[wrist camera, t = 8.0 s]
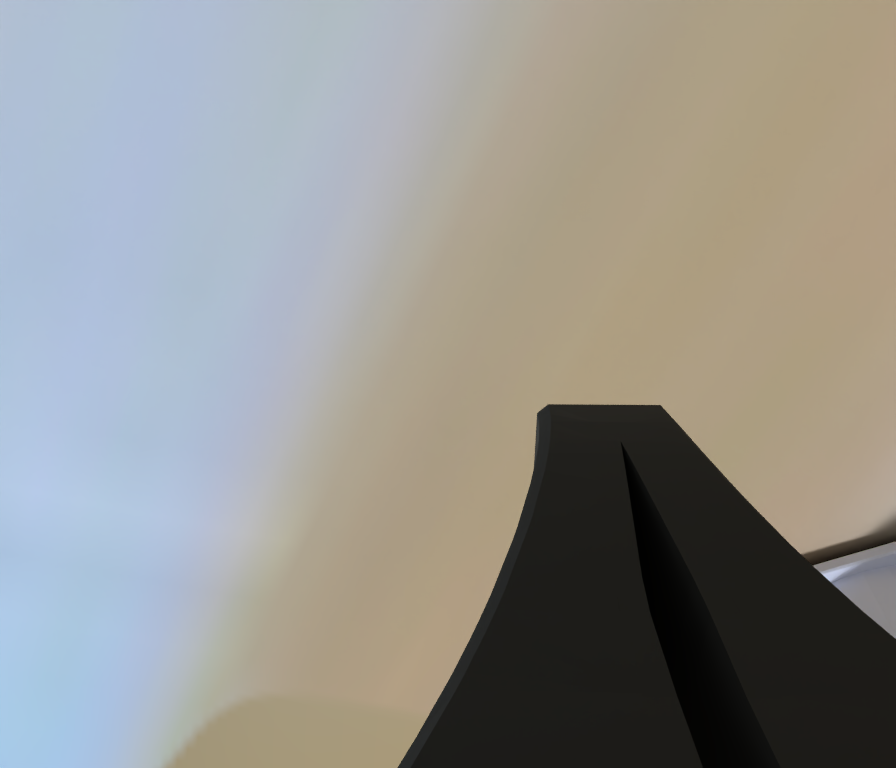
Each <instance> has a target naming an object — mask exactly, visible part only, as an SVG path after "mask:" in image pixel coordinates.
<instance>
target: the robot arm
mask: <svg viewBox="0 0 896 768" xmlns="http://www.w3.org/2000/svg"><path fill="white" fill-rule="evenodd" d="M398 768H896V541H895V542H892V543H888V544H885V545H882V546H878V547H875V548H871V549H868V550H864V551H861V552H857V553H854V554H850V555H847V556H844V557H840V558H837V559H833V560H830V561H826V562H823V563H819V564H816V565H811V564H810V563H809V562H808V561H807V560H806V559H805V558H804V557H803V556H802V555H801V554H800V553H799V552H798V551H797V550H796V549H794V548H793V547H792V546H791V545H790V544H789V543H788V542H787V541H786V540H785V539H784V538H783V537H782V536H781V535H780V534H779V533H778V531H777V530H776V529H775V528H774V527H773V526H772V525H771V524H770V523H769V522H768V521H767V520H766V519H765V518H764V517H763V516H762V515H761V514H760V513H759V512H758V511H757V510H756V509H755V508H754V507H753V506H752V505H751V504H750V503H749V502H748V501H747V500H746V499H745V498H744V497H743V496H742V494H741V493H740V492H739V491H738V490H737V489H736V488H735V487H734V486H733V485H732V484H731V483H730V482H729V481H728V479H727V478H726V477H725V476H724V475H723V474H722V473H721V472H720V471H719V470H718V468H717V467H716V466H715V465H714V464H713V463H712V462H711V461H710V460H709V459H708V457H707V456H706V455H705V454H704V453H703V452H702V451H701V450H700V448H699V447H698V446H697V445H696V444H695V443H694V442H693V441H692V439H691V438H690V437H689V436H688V435H687V434H686V433H685V432H684V430H683V429H682V428H681V427H680V426H679V425H678V424H677V423H676V422H675V420H674V419H673V418H672V417H671V416H670V415H669V414H668V413H667V412H666V411H665V410H664V409H663V407H662V406H661V405H553V404H548V405H547V406H546V407H544V408H543V409H542V410H541V411H539V412H538V413H537V427H536V444H535V461H534V471H533V475H532V480H531V484H530V487H529V490H528V494H527V497H526V500H525V504H524V507H523V510H522V514H521V517H520V520H519V524H518V527H517V530H516V533H515V535H514V538H513V541H512V543H511V546H510V548H509V551H508V553H507V556H506V558H505V561H504V563H503V566H502V568H501V571H500V573H499V576H498V578H497V581H496V583H495V586H494V588H493V591H492V593H491V596H490V598H489V600H488V602H487V604H486V607H485V609H484V611H483V613H482V615H481V617H480V620H479V622H478V624H477V626H476V628H475V630H474V632H473V634H472V636H471V638H470V640H469V642H468V644H467V646H466V648H465V650H464V652H463V654H462V656H461V658H460V660H459V662H458V664H457V666H456V668H455V670H454V672H453V673H452V675H451V677H450V679H449V681H448V683H447V684H446V686H445V688H444V690H443V691H442V693H441V695H440V697H439V698H438V700H437V702H436V704H435V705H434V707H433V709H432V711H431V712H430V714H429V716H428V718H427V719H426V721H425V723H424V725H423V727H422V728H421V730H420V732H419V734H418V735H417V737H416V739H415V740H414V742H413V743H412V745H411V747H410V749H409V750H408V752H407V753H406V755H405V757H404V758H403V760H402V761H401V763H400V765H399V766H398Z"/></svg>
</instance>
